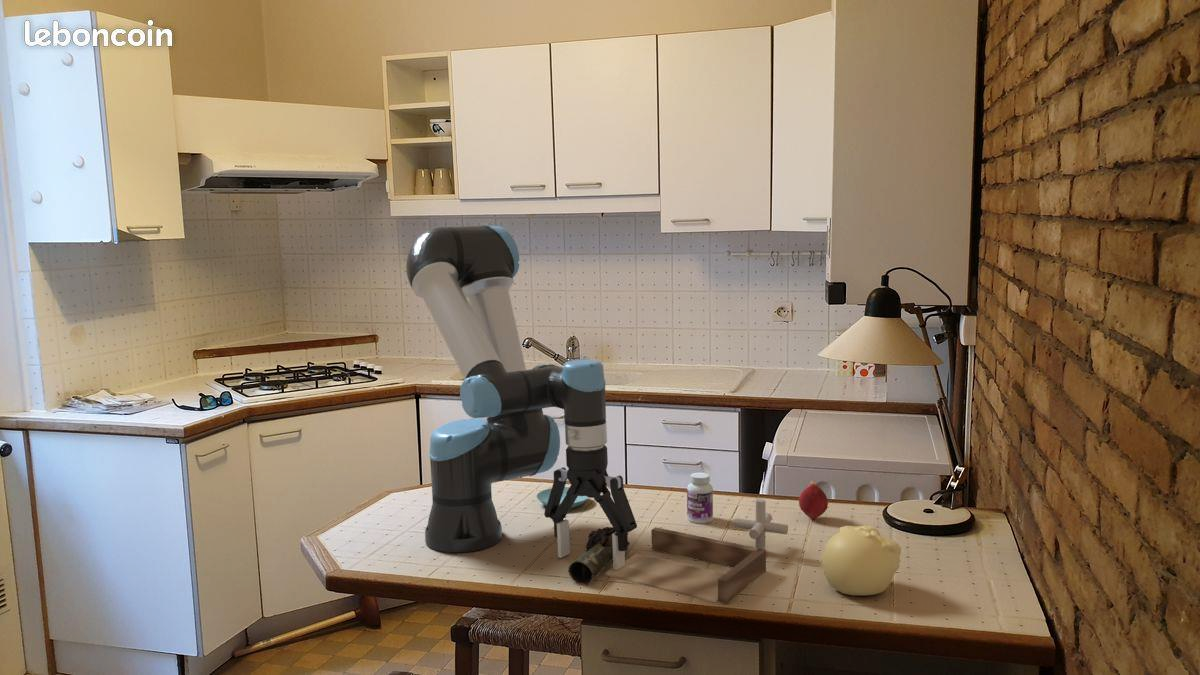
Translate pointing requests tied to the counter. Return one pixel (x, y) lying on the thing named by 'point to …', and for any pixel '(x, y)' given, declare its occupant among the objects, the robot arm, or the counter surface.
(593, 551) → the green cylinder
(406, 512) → the counter surface
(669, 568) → the mat
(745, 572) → the corner wall
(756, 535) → the pipe connector
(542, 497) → the saucer
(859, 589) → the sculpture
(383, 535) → the counter surface
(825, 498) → the onion
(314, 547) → the counter surface
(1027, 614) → the counter surface
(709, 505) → the pill bottle
